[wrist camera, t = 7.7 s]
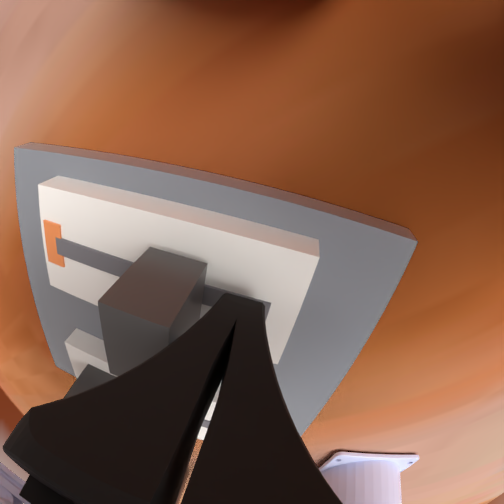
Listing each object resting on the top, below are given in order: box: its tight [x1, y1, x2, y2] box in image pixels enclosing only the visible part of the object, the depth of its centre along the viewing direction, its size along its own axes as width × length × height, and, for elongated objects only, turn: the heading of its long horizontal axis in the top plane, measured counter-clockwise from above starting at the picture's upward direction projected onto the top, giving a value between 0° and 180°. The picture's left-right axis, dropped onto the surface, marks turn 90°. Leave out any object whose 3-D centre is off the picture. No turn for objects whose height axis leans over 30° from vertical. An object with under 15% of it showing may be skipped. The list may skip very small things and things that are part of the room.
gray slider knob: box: [98, 247, 208, 377], centre depth 9 cm, size 3×2×3 cm, turn 168°
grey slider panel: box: [14, 142, 418, 440], centre depth 12 cm, size 16×18×6 cm
